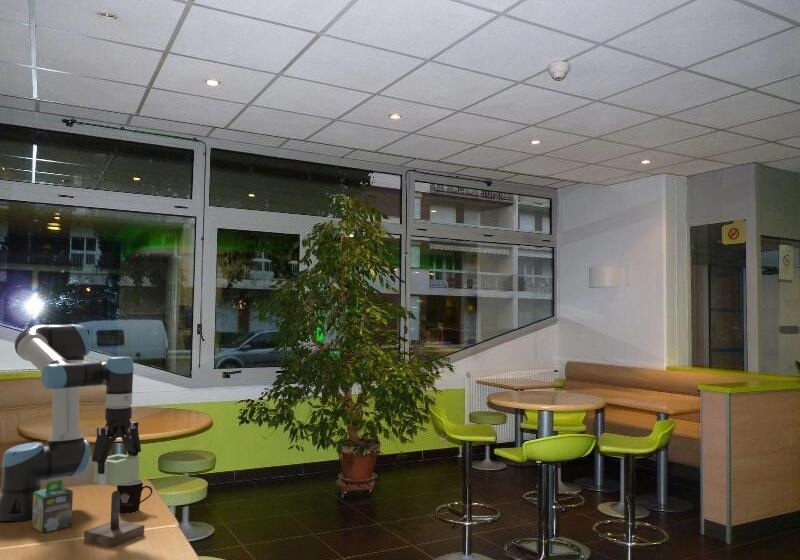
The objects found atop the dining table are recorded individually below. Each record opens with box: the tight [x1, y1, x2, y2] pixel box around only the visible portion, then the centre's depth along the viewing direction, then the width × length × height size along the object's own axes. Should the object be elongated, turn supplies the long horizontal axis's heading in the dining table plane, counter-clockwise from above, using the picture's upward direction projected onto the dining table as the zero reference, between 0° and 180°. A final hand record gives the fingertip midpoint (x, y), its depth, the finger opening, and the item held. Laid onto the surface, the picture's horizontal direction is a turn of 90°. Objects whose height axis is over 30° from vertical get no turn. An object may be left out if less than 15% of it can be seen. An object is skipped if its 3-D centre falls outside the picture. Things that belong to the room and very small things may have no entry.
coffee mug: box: [116, 478, 153, 515], centre depth 221 cm, size 12×9×10 cm
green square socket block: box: [92, 453, 140, 487], centre depth 196 cm, size 9×9×7 cm
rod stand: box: [83, 490, 145, 548], centre depth 195 cm, size 12×12×14 cm
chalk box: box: [31, 479, 74, 534], centre depth 205 cm, size 9×9×15 cm
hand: (116, 480), depth 196 cm, fingers closed on green square socket block, 9 cm apart
